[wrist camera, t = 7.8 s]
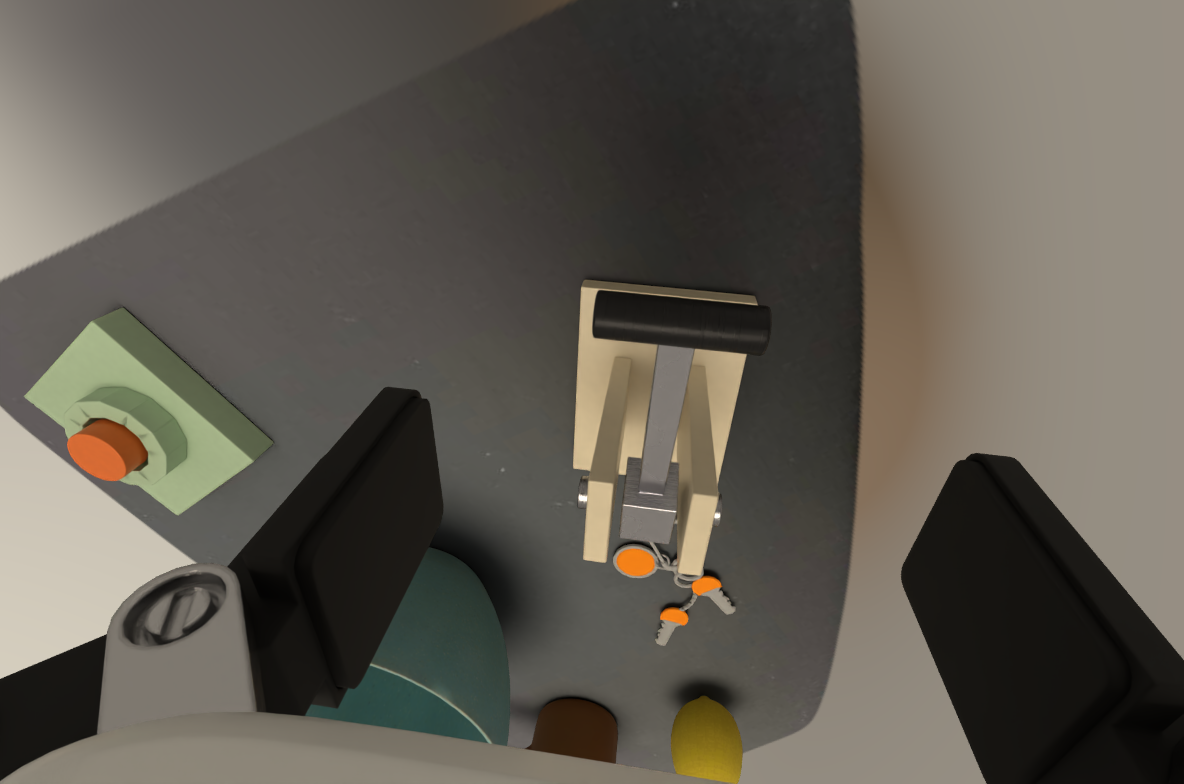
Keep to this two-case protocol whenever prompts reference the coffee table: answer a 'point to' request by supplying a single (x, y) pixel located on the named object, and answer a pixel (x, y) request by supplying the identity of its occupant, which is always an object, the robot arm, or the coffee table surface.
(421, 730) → the plant pot
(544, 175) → the coffee table surface
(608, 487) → the bracket
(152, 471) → the button block
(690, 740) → the lemon
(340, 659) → the robot arm
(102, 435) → the button
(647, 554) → the key chain
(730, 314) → the lever
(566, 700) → the mug
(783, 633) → the coffee table surface
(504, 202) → the coffee table surface
